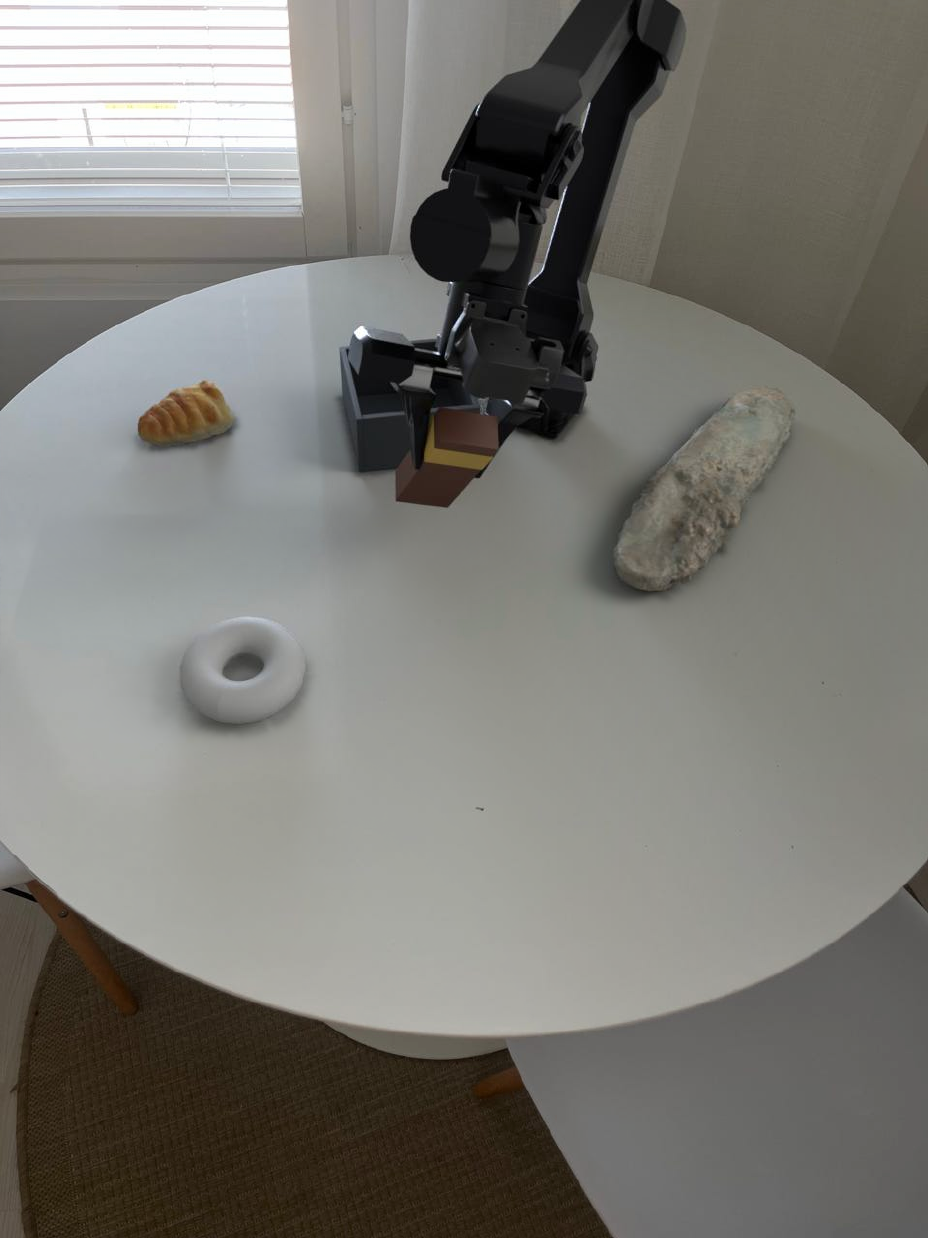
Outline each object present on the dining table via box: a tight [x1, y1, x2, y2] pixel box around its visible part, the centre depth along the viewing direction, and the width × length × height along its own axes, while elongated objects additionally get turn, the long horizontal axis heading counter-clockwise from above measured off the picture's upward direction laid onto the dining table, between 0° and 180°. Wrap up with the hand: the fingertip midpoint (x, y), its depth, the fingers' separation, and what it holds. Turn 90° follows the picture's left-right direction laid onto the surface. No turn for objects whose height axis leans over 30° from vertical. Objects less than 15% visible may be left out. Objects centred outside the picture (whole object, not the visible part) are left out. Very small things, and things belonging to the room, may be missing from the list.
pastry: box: [137, 379, 235, 447], centre depth 93 cm, size 9×7×4 cm
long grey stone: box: [613, 385, 796, 592], centre depth 91 cm, size 35×5×10 cm
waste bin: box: [338, 338, 482, 473], centre depth 94 cm, size 12×12×7 cm
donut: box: [179, 615, 307, 725], centre depth 73 cm, size 10×4×10 cm
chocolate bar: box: [394, 407, 500, 509], centre depth 77 cm, size 3×5×12 cm, turn 100°
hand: (446, 472), depth 76 cm, fingers closed on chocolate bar, 5 cm apart
